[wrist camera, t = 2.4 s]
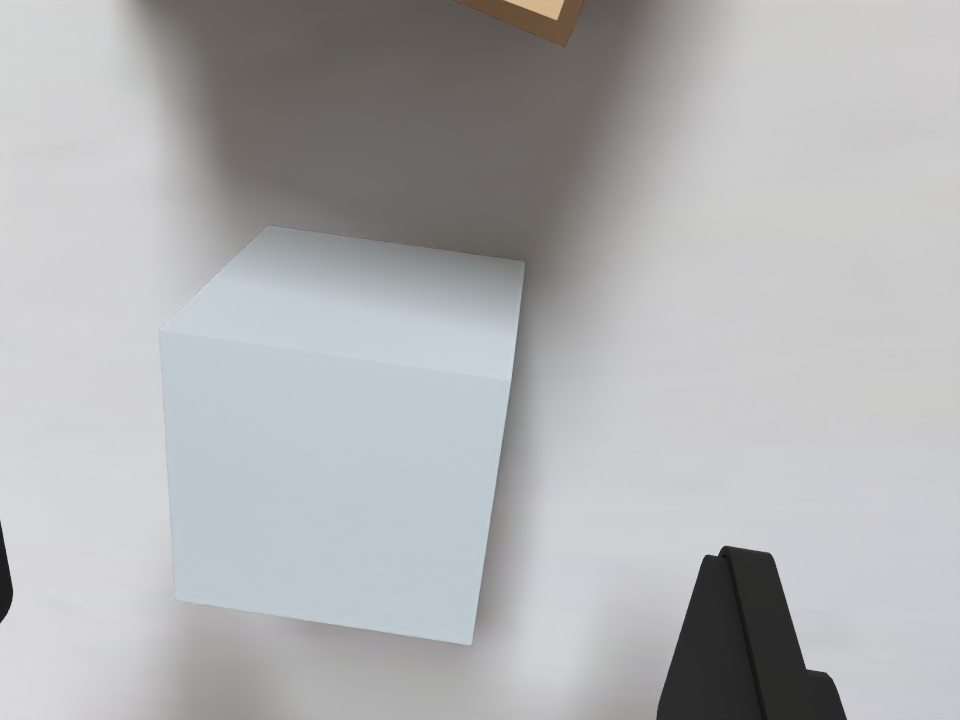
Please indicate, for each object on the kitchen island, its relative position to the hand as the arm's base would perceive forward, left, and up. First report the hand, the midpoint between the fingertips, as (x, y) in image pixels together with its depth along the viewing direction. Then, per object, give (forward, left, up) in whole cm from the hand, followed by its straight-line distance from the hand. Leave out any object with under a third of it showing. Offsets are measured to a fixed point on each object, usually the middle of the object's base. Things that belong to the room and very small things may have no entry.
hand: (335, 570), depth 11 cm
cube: (-1, 0, -7) cm, 7 cm away
